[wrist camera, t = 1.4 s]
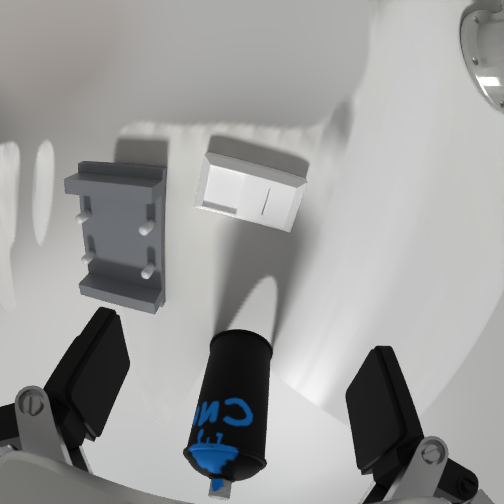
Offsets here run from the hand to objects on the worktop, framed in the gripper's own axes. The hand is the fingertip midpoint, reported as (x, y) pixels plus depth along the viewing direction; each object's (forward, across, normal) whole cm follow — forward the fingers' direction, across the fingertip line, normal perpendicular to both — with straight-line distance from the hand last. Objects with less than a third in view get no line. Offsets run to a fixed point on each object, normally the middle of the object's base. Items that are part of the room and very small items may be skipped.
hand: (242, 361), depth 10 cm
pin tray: (+19, +14, +6) cm, 24 cm away
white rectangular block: (+19, +1, -1) cm, 19 cm away
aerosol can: (+19, -1, +20) cm, 28 cm away
